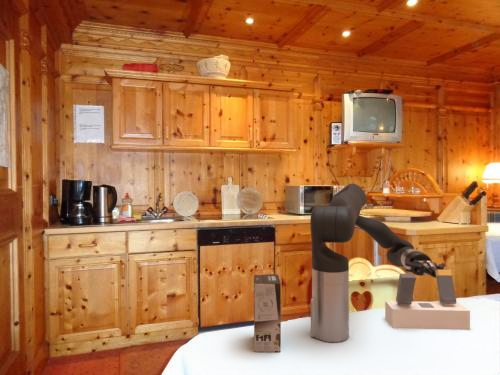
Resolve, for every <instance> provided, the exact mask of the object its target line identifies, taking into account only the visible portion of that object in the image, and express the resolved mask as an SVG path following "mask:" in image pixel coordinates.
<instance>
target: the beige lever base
mask: <svg viewBox="0 0 500 375" xmlns="http://www.w3.org/2000/svg"><path fill="white" fill-rule="evenodd" d="M384 302H385V303H384V304H385V305H384V306H385V307H384V311H385V312H384V315H385V316H384V318H385V320H386V321H387V323H388V324H389V325H390V326H391V328H393V329H430V330H431V329H434V330H471V310H470V309H468V308H467V307H465V305H462V304H460V302H458V301H456V302H457V303H456V304H441V303H440V301H414V300H412V304H411V305H398V304H397V302H396V300H385V301H384Z"/></svg>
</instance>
